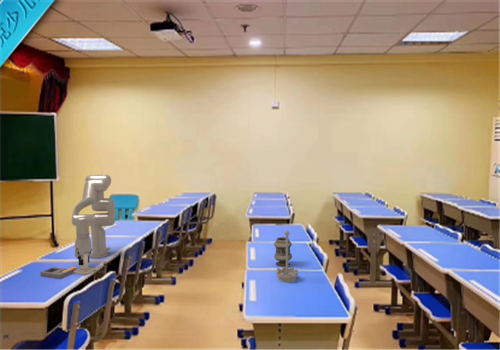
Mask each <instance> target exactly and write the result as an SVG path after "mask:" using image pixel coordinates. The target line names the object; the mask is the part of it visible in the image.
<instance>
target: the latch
mask: <svg viewBox="0 0 500 350" xmlns="http://www.w3.org/2000/svg"><path fill="white" fill-rule="evenodd" d="M65 269H66V270H64V271H62V272H63V273H64V272H66V271H68V270H73V273H74V271H76V270H78V267H77V266H71V267H69V268H65Z"/></svg>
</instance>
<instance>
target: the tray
mask: <svg viewBox="0 0 500 350" xmlns="http://www.w3.org/2000/svg"><path fill="white" fill-rule="evenodd" d="M95 271H96V268H95V267H89V266H88V269H87V270H81V267H80V268H79V269H78V268H77V270H76V271H74V272H73V274H77V275H78V274H79V275H83V276H86V275H90V274H91V273H93V272H95Z"/></svg>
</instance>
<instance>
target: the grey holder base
mask: <svg viewBox="0 0 500 350" xmlns="http://www.w3.org/2000/svg"><path fill="white" fill-rule="evenodd" d="M66 269H67V268H65V267H64V268H62V267H56V266H53V267H51V268H48V269H45V270H43V271H40V277H43V278H49V279H50V278H52V279H55V280H57V279H58V280H63V279H64V278H67V277H68V276H69V277H70V276H71V275H73V274H74V272H73V270H68V271H66V272H64V273H63V272H62V271H64V270H66Z"/></svg>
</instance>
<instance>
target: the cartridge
mask: <svg viewBox="0 0 500 350" xmlns="http://www.w3.org/2000/svg"><path fill="white" fill-rule="evenodd" d="M80 257H81V255H80ZM82 259H83V265H80V268H81V270H87V269H88V267H89V263H88V252H85V254H83V258H82Z"/></svg>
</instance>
